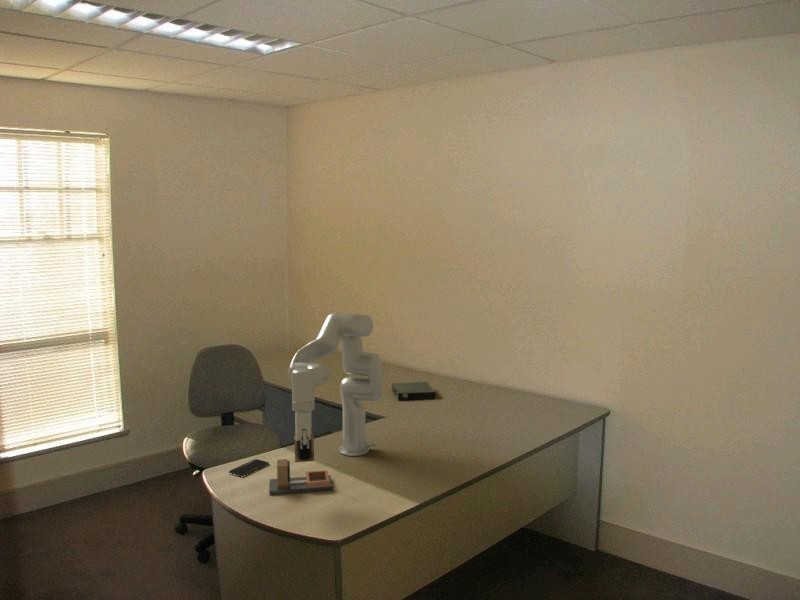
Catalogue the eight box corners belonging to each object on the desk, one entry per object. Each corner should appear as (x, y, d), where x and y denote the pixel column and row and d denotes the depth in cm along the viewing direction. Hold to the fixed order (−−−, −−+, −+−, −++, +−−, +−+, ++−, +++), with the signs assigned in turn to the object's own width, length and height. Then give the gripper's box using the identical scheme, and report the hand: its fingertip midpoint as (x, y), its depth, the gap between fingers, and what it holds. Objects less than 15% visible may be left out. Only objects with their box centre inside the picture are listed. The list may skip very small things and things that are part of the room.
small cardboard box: (313, 456, 214) (313, 434, 213) (314, 461, 210) (313, 439, 209) (294, 458, 213) (294, 435, 212) (295, 463, 209) (294, 440, 208)
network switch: (387, 391, 352) (387, 383, 351) (426, 388, 359) (426, 380, 358) (399, 403, 330) (399, 394, 329) (440, 399, 337) (440, 390, 336)
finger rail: (330, 478, 231) (330, 454, 230) (332, 490, 221) (332, 464, 220) (269, 483, 227) (269, 458, 226) (269, 495, 217) (268, 469, 216)
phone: (227, 471, 236) (255, 458, 248) (227, 474, 236) (255, 461, 249) (242, 476, 232) (270, 462, 244) (242, 478, 232) (270, 465, 245)
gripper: (291, 398, 216) (292, 448, 219) (292, 413, 200) (293, 467, 203) (313, 397, 218) (314, 446, 220) (316, 412, 201) (317, 465, 204)
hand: (304, 456), depth 211 cm, fingers closed on small cardboard box, 4 cm apart
